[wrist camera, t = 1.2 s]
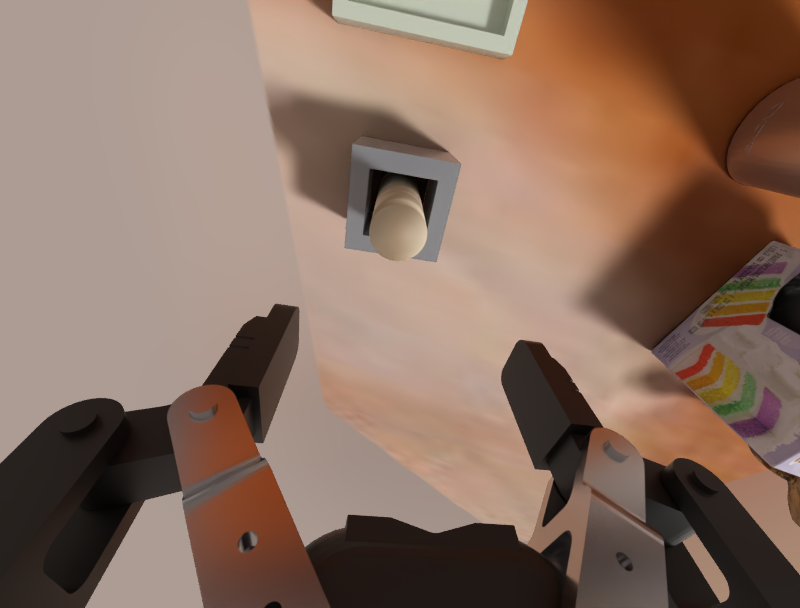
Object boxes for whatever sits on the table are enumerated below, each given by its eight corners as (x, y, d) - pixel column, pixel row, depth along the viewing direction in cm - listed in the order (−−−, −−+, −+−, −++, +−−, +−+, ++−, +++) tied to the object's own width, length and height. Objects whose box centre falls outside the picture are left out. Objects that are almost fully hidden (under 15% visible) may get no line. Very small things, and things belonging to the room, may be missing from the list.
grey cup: (449, 152, 30) (461, 164, 24) (430, 235, 35) (436, 262, 29) (361, 135, 29) (352, 143, 23) (354, 223, 34) (344, 248, 28)
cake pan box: (779, 228, 34) (1068, 323, 19) (808, 244, 35) (1103, 346, 21) (644, 348, 44) (768, 472, 29) (670, 358, 45) (802, 483, 30)
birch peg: (421, 172, 31) (433, 210, 20) (414, 211, 33) (420, 264, 22) (382, 165, 31) (372, 200, 20) (377, 205, 33) (366, 256, 22)
